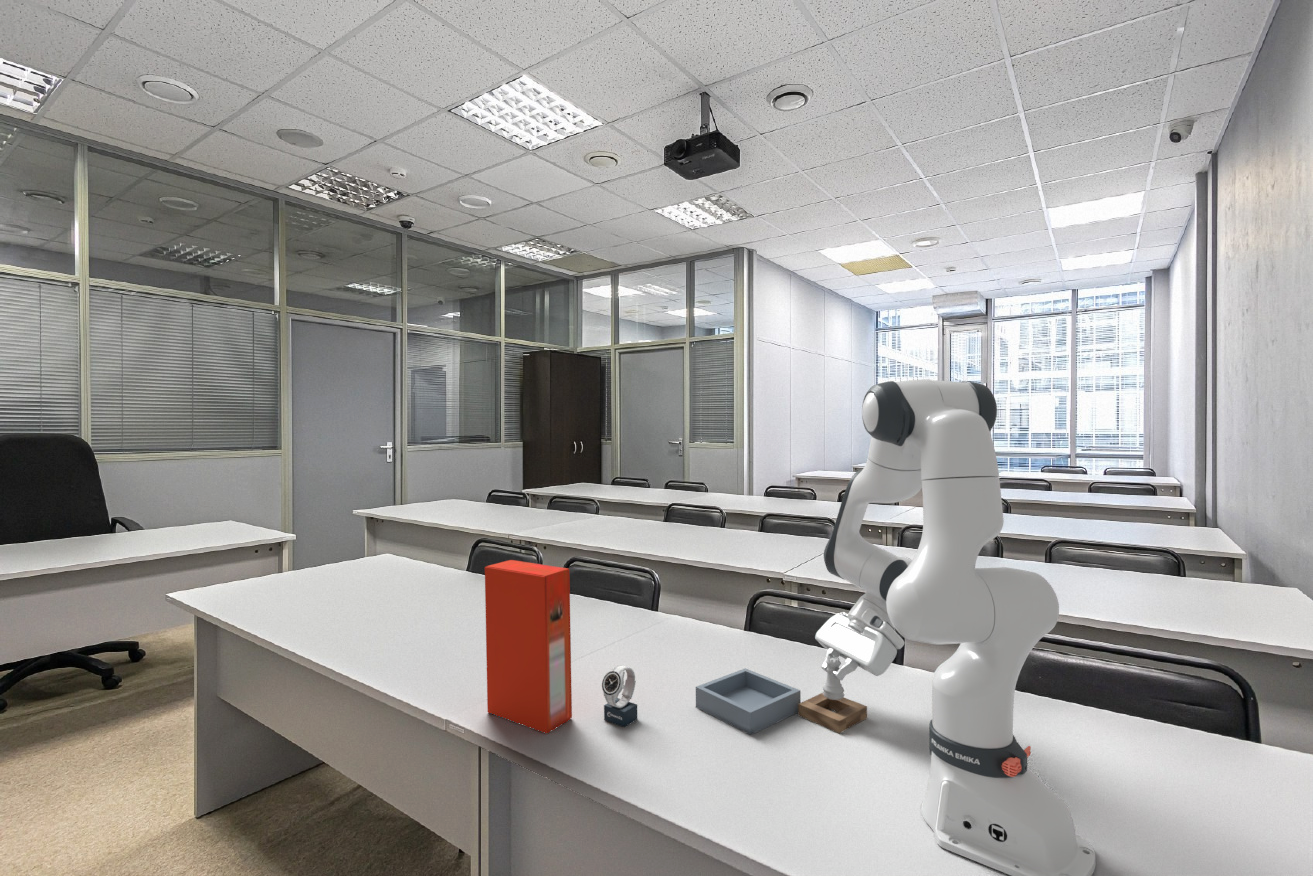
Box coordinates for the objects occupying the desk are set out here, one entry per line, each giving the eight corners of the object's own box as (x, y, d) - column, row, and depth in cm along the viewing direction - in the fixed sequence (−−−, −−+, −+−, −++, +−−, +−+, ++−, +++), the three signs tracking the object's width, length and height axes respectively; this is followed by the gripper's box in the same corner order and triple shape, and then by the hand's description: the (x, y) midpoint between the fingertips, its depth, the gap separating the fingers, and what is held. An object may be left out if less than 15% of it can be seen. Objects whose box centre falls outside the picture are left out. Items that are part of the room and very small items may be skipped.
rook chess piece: (827, 690, 130) (827, 652, 130) (847, 695, 127) (847, 657, 127) (819, 697, 127) (818, 658, 127) (839, 702, 124) (839, 663, 124)
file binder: (545, 735, 121) (543, 576, 121) (486, 713, 130) (484, 566, 130) (571, 718, 128) (570, 568, 128) (514, 699, 137) (512, 559, 137)
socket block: (867, 718, 127) (867, 706, 127) (839, 733, 121) (839, 721, 121) (826, 701, 135) (826, 690, 135) (798, 715, 128) (798, 703, 128)
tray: (800, 711, 130) (800, 690, 130) (750, 735, 120) (750, 712, 120) (745, 687, 143) (745, 668, 143) (695, 707, 133) (695, 686, 133)
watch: (597, 723, 126) (597, 671, 126) (622, 709, 132) (622, 659, 132) (618, 731, 122) (618, 677, 122) (642, 716, 129) (642, 664, 129)
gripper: (831, 601, 139) (795, 648, 136) (891, 626, 120) (850, 682, 117) (848, 618, 141) (812, 666, 137) (910, 646, 121) (870, 702, 118)
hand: (830, 674), depth 127 cm, fingers closed on rook chess piece, 3 cm apart
